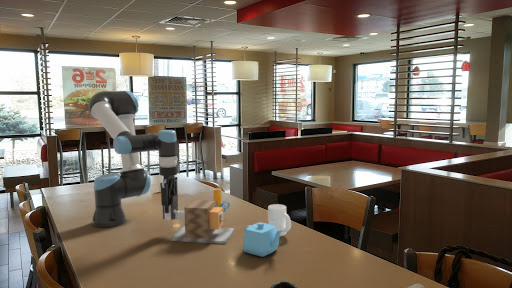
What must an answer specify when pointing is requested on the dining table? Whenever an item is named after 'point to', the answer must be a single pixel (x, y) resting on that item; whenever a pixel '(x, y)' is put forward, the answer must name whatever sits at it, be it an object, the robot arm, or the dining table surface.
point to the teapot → (261, 239)
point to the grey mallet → (179, 213)
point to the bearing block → (201, 225)
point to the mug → (279, 218)
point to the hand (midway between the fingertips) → (170, 217)
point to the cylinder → (219, 199)
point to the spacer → (215, 218)
